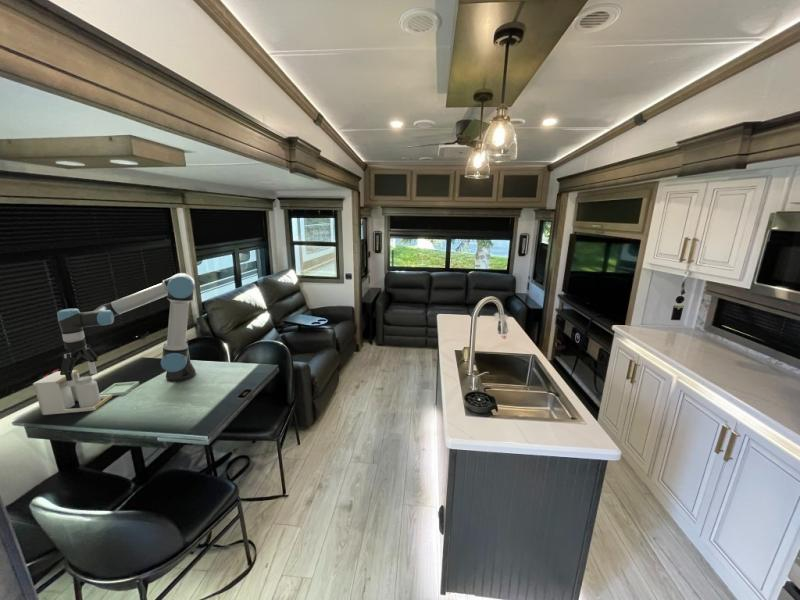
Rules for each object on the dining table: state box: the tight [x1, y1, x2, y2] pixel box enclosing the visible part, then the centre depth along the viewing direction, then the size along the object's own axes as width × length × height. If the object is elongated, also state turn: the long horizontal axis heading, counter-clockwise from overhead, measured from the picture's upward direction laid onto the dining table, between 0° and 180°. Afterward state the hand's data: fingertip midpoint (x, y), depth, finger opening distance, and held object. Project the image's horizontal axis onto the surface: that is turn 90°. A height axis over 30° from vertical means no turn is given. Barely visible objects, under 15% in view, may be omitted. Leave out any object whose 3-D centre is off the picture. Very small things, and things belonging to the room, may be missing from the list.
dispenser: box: [32, 369, 113, 416], centre depth 161 cm, size 22×13×17 cm, turn 100°
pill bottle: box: [75, 375, 102, 408], centre depth 162 cm, size 8×8×15 cm
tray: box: [99, 380, 140, 397], centre depth 178 cm, size 12×12×2 cm
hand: (83, 379), depth 161 cm, fingers open, 13 cm apart
